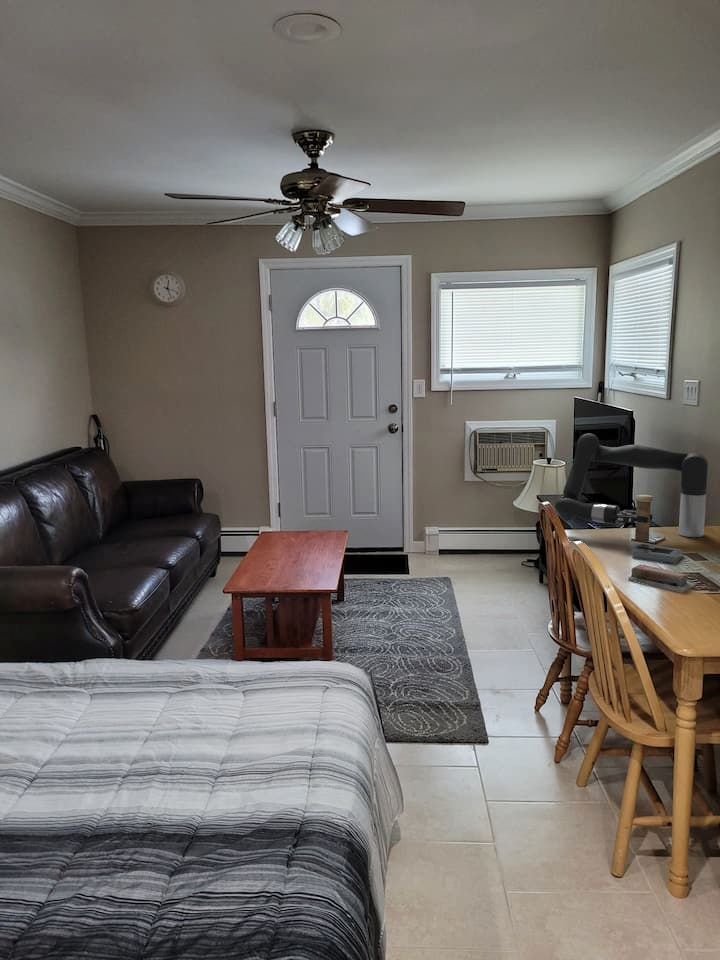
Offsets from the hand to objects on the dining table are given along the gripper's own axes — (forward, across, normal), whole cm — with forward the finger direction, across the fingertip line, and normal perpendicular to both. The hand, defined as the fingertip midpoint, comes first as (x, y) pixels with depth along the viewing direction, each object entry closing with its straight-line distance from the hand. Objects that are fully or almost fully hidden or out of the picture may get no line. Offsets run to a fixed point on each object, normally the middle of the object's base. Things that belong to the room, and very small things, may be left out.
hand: (649, 518), depth 263 cm
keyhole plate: (+6, -13, +11) cm, 18 cm away
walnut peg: (-3, 0, +9) cm, 9 cm away
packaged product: (+16, -43, +12) cm, 47 cm away
